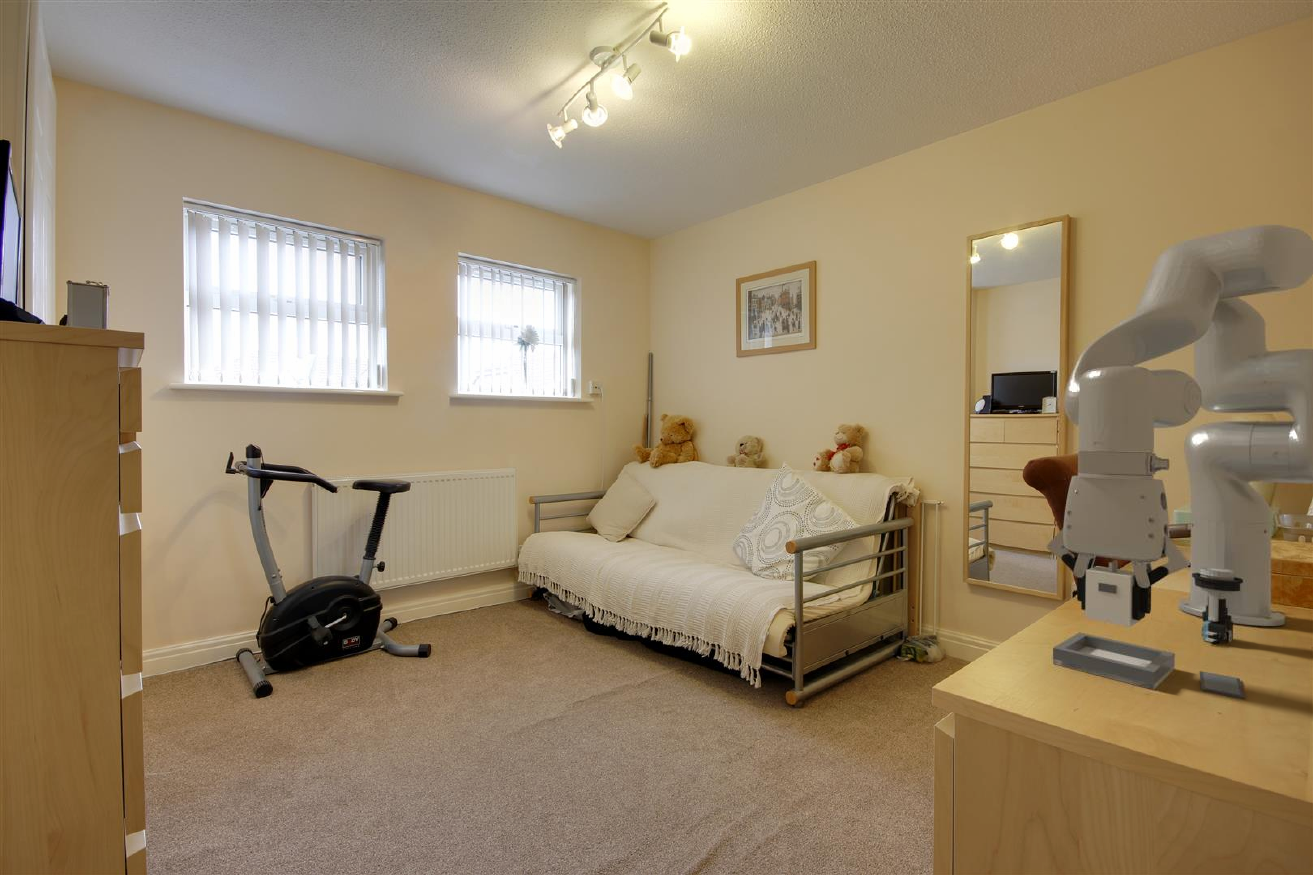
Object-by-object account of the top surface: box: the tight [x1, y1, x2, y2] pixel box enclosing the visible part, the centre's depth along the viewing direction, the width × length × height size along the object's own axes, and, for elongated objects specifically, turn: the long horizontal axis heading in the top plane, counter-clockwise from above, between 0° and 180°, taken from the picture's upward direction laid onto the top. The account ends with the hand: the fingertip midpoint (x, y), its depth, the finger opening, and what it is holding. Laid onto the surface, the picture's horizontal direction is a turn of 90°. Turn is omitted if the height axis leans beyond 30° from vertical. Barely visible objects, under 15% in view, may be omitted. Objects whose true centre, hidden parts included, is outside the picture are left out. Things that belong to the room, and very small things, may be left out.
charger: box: [1084, 559, 1141, 628], centre depth 75 cm, size 5×4×7 cm
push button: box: [1192, 567, 1243, 645], centre depth 85 cm, size 7×5×10 cm
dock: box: [1052, 632, 1176, 691], centre depth 75 cm, size 10×10×2 cm
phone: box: [1199, 670, 1246, 700], centre depth 70 cm, size 7×4×1 cm, turn 139°
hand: (1112, 611), depth 75 cm, fingers closed on charger, 4 cm apart
